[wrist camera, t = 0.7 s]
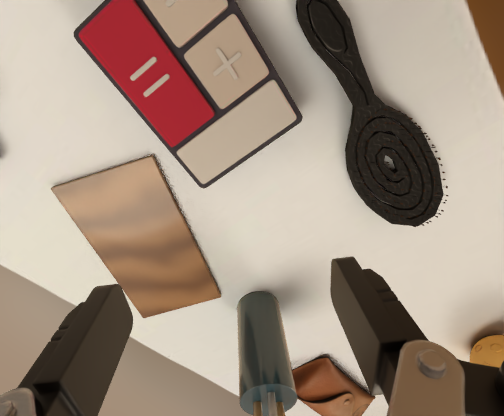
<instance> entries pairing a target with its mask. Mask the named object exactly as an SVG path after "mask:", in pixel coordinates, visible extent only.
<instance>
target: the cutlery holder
mask: <svg viewBox="0 0 504 416" xmlns="http://www.w3.org/2000/svg"><path fill="white" fill-rule="evenodd" d="M237 317H238V356H239V395H240V406H241V408H242V409H243V410H244V411H245V412H247V413H249V414H251V415H253V416H285V412H286V411H287V410H289V409H291V408H292V407H293V406H294V405H295V403H296V401H297V392H296V387H295V382H294V377H293V372H292V367H291V362H290V357H289V352H288V347H287V342H286V337H285V332H284V327H283V322H282V317H281V312H280V307H279V302H278V300H277V299H276V297H275V296H273V295H272V294H270V293H267V292H253V293H250V294H247V295H246V296H244V297H243V298H242V299H241V300H240V301H239V303H238V306H237Z"/></svg>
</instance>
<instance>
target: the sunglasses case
mask: <svg viewBox="0 0 504 416" xmlns="http://www.w3.org/2000/svg"><path fill="white" fill-rule="evenodd" d="M292 372H293V377H294V382H295V387H296V392H297V399H299V400H301V401H302V402H303V403H305V404H306V405H307V406H309V407H310V408H311V409H313V410H314V411H316V412H317V413H319V414H320V415H322V416H362V414H363V413H364V412H365V410H366V409H367V408H368V406H369V405H370V403H371V402H372V401H373V399H375V396H372V395H371V394H370V393H368V392H366V391H365V390H364V389H362V388H361V387H360V386H358V385H357V384H356V383H355V382H353V381H352V380H351V379H350V378H349V377H347V376H346V375H345V374H344V373H343V372H342V371H341V370H340V369H339V368H338V367H337V366H335V364H334V363H333V362H332V361H331V360H330V359H329V358H327V357H323V358H319V359H316V360H313V361H310V362H308V363H306V364H304V365H302V366H300V367H298V368H296V369H294V370H292Z"/></svg>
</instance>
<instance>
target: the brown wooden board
mask: <svg viewBox="0 0 504 416" xmlns="http://www.w3.org/2000/svg"><path fill="white" fill-rule="evenodd" d="M51 190H52V191H53V193H54V194H55V196H56V197H57V198H58V200H59V201H60V202H61V204H62V205H63V207H64V208H65V209H66V211H67V212H68V214H69V215H70V216H71V218H72V219H73V221H74V222H75V223H76V225H77V226H78V228H79V229H80V230H81V232H82V233H83V235H84V236H85V237H86V239H87V240H88V242H89V243H90V244H91V246H92V247H93V249H94V250H95V251H96V253H97V254H98V256H99V257H100V258H101V260H102V261H103V262H104V264H105V265H106V267H107V268H108V269H109V271H110V272H111V274H112V275H113V276H114V278H115V279H116V281H117V282H118V283H119V285H120V286H121V288H122V289H123V290H124V292H125V293H126V295H127V296H128V297H129V299H130V300H131V302H132V303H133V304H134V306H135V307H136V309H137V310H138V311H139V313H140V314H141V315H142V317H143V318H146V317H150V316H154V315H157V314H161V313H165V312H168V311H172V310H176V309H179V308H183V307H187V306H190V305H194V304H198V303H201V302H205V301H209V300H212V299H216V298H220V297H221V294H220V291H219V289H218V287H217V285H216V283H215V281H214V279H213V277H212V275H211V273H210V271H209V269H208V267H207V265H206V263H205V261H204V259H203V257H202V254H201V252H200V250H199V248H198V246H197V244H196V242H195V240H194V238H193V236H192V234H191V232H190V230H189V228H188V226H187V224H186V222H185V220H184V217H183V215H182V213H181V211H180V209H179V207H178V205H177V203H176V201H175V199H174V197H173V195H172V193H171V191H170V189H169V187H168V185H167V183H166V180H165V178H164V176H163V174H162V172H161V170H160V168H159V166H158V164H157V162H156V160H155V158H154V156H153V155H151V156H148V157H145V158H142V159H138V160H135V161H132V162H129V163H126V164H123V165H120V166H117V167H113V168H110V169H107V170H104V171H101V172H98V173H95V174H92V175H88V176H85V177H82V178H79V179H76V180H73V181H70V182H67V183H63V184H60V185H57V186H54V187H52V188H51Z"/></svg>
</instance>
